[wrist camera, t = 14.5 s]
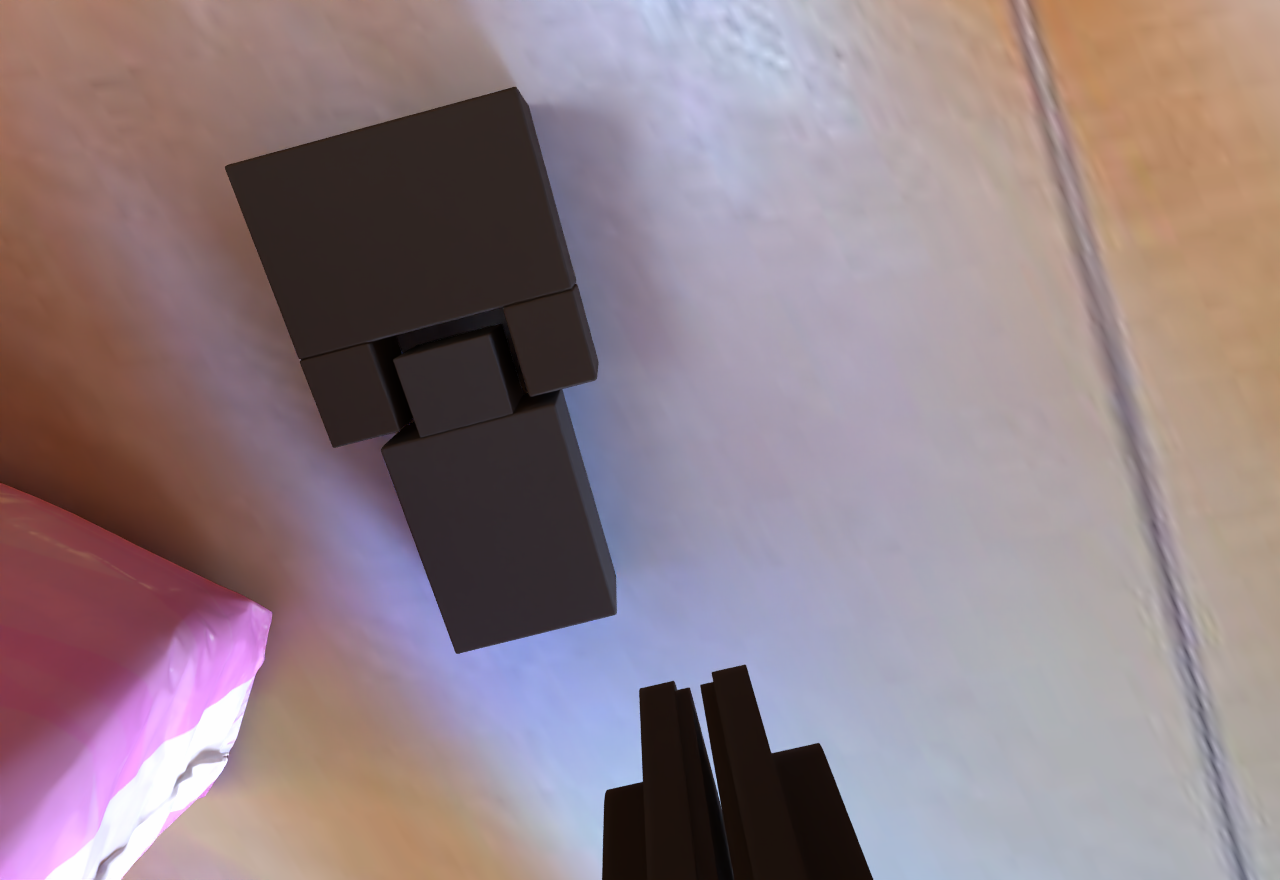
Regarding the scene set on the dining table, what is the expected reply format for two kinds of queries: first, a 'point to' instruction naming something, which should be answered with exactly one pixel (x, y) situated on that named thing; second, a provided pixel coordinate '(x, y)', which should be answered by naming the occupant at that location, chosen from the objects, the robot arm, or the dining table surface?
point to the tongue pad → (496, 495)
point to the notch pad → (414, 252)
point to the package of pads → (108, 691)
